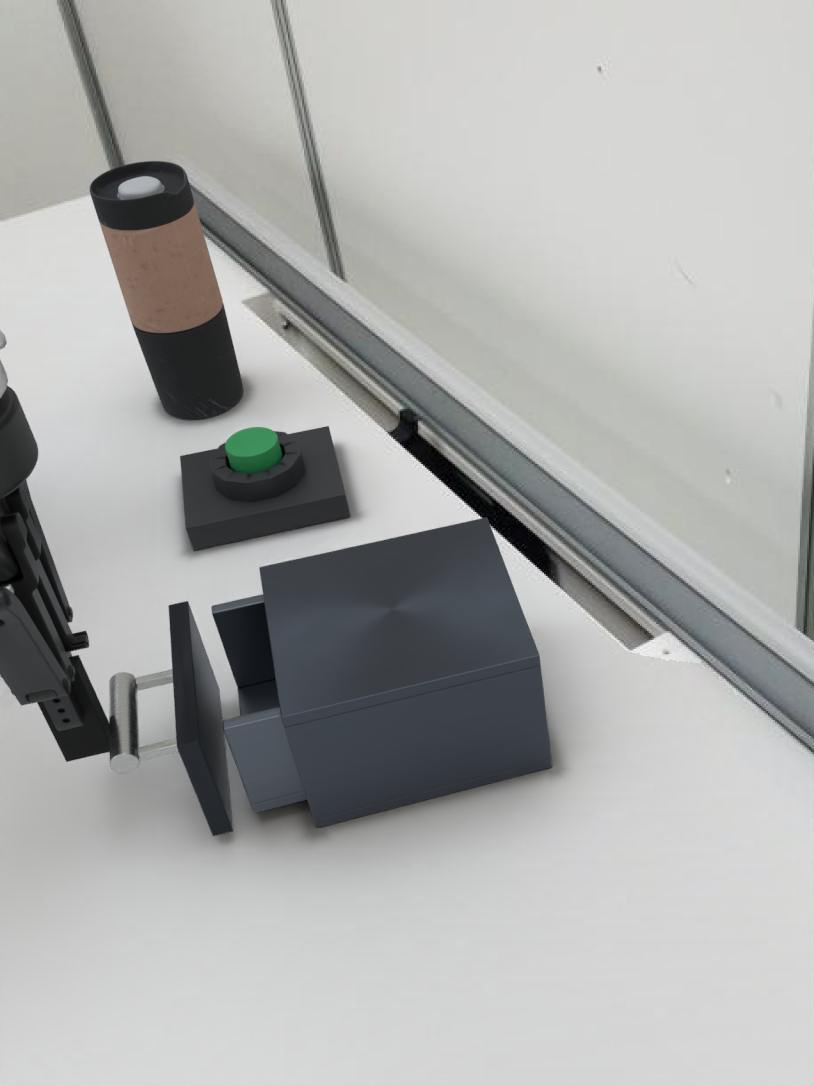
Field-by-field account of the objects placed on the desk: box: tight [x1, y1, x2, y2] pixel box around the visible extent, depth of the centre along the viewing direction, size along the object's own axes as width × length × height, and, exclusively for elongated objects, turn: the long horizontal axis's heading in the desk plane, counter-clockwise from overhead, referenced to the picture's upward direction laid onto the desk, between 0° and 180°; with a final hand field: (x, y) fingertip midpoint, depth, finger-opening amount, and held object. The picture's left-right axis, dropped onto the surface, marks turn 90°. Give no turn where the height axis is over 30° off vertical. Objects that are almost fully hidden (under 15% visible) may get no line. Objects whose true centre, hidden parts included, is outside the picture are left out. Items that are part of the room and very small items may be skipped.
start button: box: [225, 426, 282, 473], centre depth 98 cm, size 4×4×2 cm
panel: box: [179, 425, 351, 551], centre depth 100 cm, size 12×10×4 cm
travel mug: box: [89, 160, 244, 421], centre depth 106 cm, size 8×8×20 cm
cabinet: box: [258, 517, 553, 829], centre depth 79 cm, size 15×14×10 cm
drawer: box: [108, 593, 307, 837], centre depth 77 cm, size 18×12×8 cm
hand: (90, 747), depth 76 cm, fingers closed
